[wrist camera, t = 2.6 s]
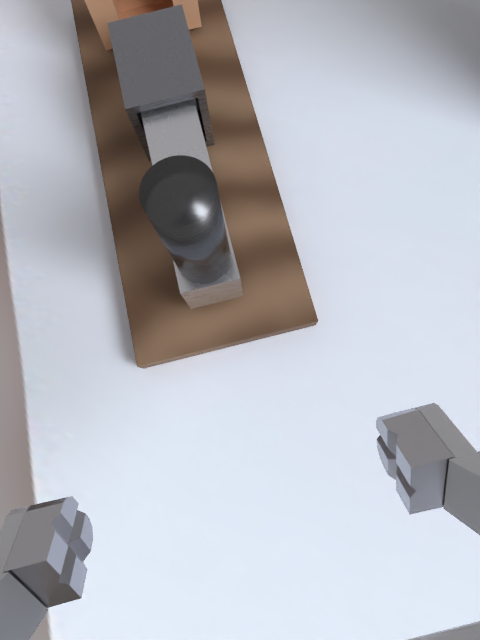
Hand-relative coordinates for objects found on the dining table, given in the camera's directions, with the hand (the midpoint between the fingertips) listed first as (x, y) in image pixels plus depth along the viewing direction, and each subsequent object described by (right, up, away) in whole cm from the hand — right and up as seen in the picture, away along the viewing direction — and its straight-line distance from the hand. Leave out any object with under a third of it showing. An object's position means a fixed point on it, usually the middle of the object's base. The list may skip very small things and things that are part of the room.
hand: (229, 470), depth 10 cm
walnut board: (-5, +19, +25) cm, 32 cm away
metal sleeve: (-6, +22, +24) cm, 33 cm away
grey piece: (-4, +15, +21) cm, 26 cm away
